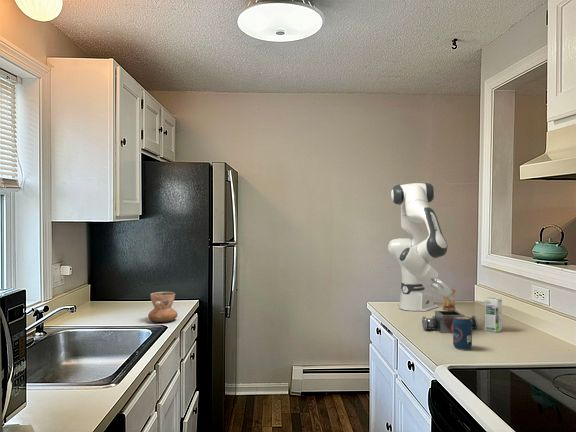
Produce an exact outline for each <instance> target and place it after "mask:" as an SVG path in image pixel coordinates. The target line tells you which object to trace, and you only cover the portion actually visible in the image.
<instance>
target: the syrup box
mask: <svg viewBox="0 0 576 432" xmlns="http://www.w3.org/2000/svg"><path fill="white" fill-rule="evenodd" d="M484 318H485V319H484V330H485V331H488V332H492V333H499V332H501V331H502V330H503V299H502V298H499V297H491V296H488V297H486V298H484Z"/></svg>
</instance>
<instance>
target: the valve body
mask: <svg viewBox="0 0 576 432" xmlns="http://www.w3.org/2000/svg"><path fill="white" fill-rule="evenodd" d="M455 316H466V315H464V314H463V313H461V312H460V311H458V310H455V311H447V310H435V311H434V315H433V316H432V317H431V318H429V317H426V316H423V317H422V320H421V325H422V329H423V331H427V330H428V329H435V330H436V331H437V332H439V333H440V334H449V333H450V334H451V333H452V334H453V320H454V317H455ZM469 318H470V320H471V322H472V330H477V329H478V327H479V325H478V324H479V323H478V317H477V316H476V315H472V316H471V317H469Z"/></svg>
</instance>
